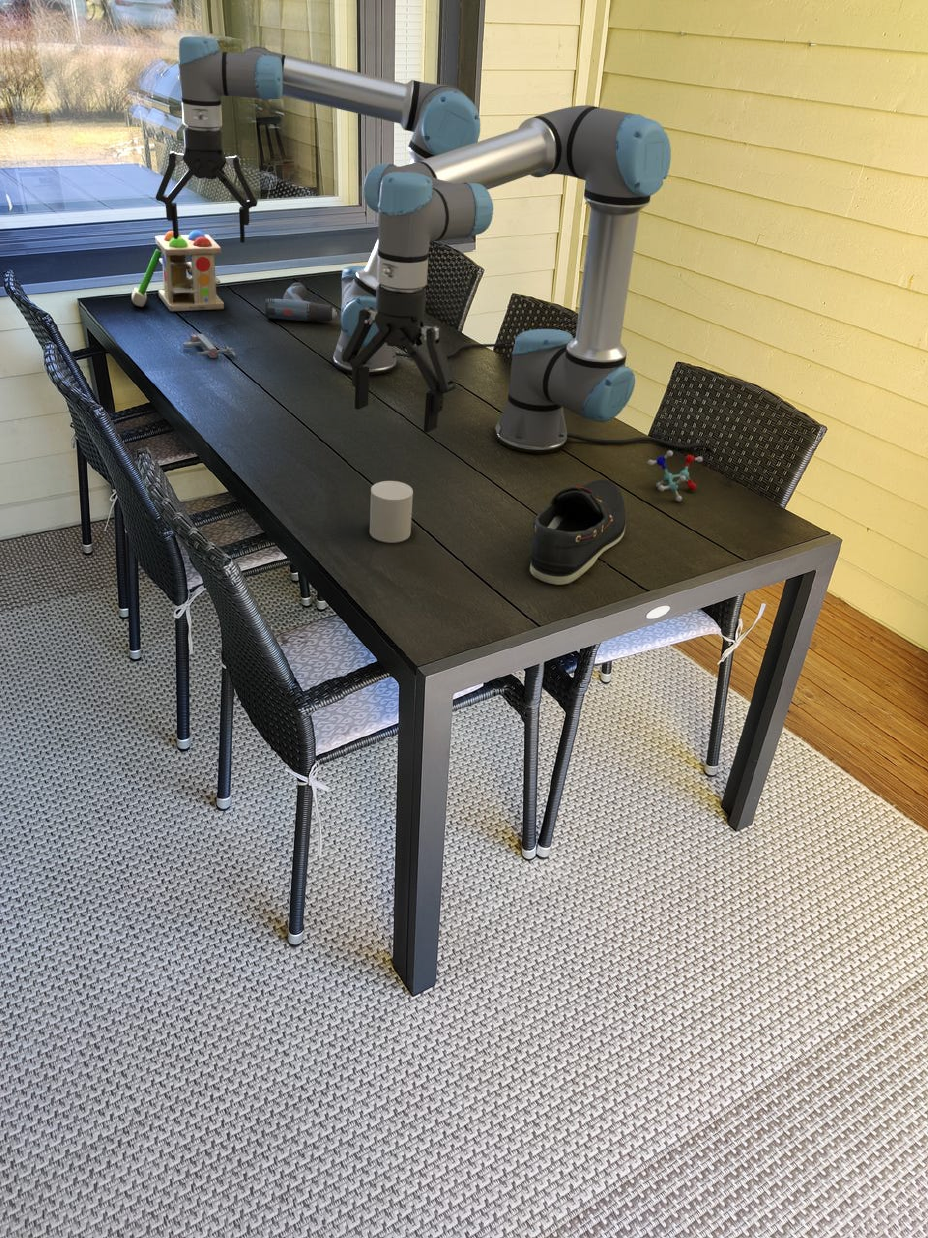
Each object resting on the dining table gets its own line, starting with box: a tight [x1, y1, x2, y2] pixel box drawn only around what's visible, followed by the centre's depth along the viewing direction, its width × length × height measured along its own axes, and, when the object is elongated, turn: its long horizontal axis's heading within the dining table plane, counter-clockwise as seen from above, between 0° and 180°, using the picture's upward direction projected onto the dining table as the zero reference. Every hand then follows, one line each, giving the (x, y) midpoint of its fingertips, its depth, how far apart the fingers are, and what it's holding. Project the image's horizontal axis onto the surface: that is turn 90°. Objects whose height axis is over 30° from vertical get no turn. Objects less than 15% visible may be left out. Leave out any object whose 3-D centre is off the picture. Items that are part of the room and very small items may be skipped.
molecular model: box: [646, 450, 704, 503], centre depth 192 cm, size 12×10×10 cm
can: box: [369, 480, 414, 544], centre depth 169 cm, size 7×7×8 cm
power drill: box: [264, 282, 338, 322], centre depth 265 cm, size 5×19×20 cm
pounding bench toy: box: [131, 230, 225, 312], centre depth 259 cm, size 23×14×18 cm, turn 116°
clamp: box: [182, 333, 239, 359], centre depth 235 cm, size 15×2×10 cm
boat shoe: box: [529, 479, 627, 586], centre depth 172 cm, size 13×33×10 cm, turn 147°
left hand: (209, 239), depth 206 cm, fingers open, 13 cm apart
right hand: (395, 418), depth 159 cm, fingers open, 13 cm apart
